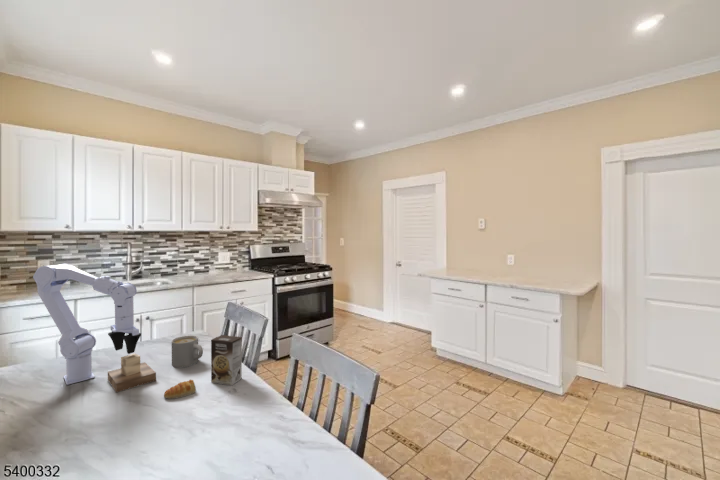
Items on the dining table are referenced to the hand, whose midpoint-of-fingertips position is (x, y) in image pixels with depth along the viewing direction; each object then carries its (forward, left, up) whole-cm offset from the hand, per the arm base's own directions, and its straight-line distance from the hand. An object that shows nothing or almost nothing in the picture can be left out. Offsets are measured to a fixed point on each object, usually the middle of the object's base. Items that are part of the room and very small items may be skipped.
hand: (124, 351), depth 123 cm
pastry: (+29, +10, -10) cm, 32 cm away
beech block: (+5, +1, -7) cm, 9 cm away
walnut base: (+5, +1, -10) cm, 11 cm away
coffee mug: (+4, +21, -10) cm, 24 cm away
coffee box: (+31, +25, -10) cm, 41 cm away
